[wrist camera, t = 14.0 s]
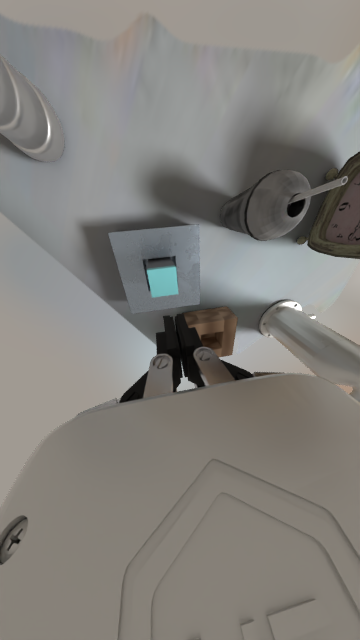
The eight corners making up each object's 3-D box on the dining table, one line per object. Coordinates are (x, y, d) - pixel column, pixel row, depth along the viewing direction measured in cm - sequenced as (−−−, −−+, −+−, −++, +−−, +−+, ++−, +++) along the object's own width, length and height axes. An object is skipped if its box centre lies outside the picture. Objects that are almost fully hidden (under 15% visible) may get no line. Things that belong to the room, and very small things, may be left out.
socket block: (190, 224, 29) (199, 224, 24) (193, 293, 36) (199, 304, 31) (115, 231, 27) (107, 232, 22) (134, 301, 35) (131, 313, 30)
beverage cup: (218, 242, 31) (296, 261, 14) (208, 201, 27) (300, 161, 10) (251, 226, 31) (373, 226, 14) (246, 182, 27) (408, 106, 10)
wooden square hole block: (226, 306, 40) (237, 317, 35) (223, 340, 46) (232, 354, 41) (182, 312, 39) (186, 325, 34) (185, 347, 45) (189, 362, 40)
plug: (168, 254, 30) (176, 266, 21) (170, 274, 32) (178, 294, 23) (148, 256, 29) (146, 270, 20) (151, 276, 32) (152, 297, 22)
